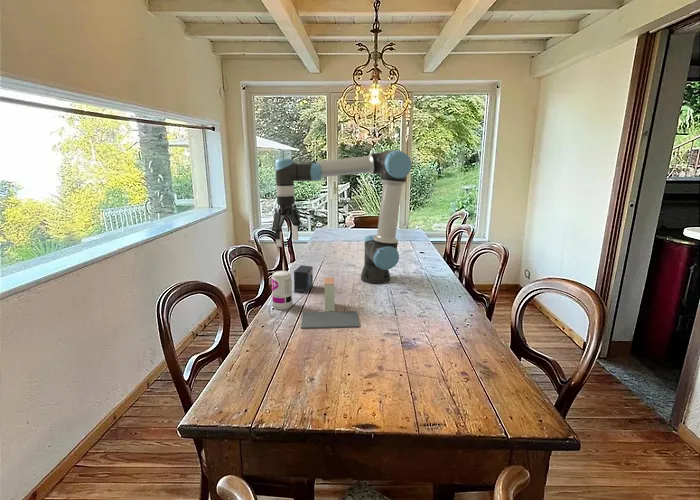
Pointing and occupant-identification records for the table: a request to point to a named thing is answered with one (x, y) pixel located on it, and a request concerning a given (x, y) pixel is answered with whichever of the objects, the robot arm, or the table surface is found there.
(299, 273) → the small box
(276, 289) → the supplement can
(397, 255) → the robot arm
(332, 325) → the mat
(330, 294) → the slab
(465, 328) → the table surface
